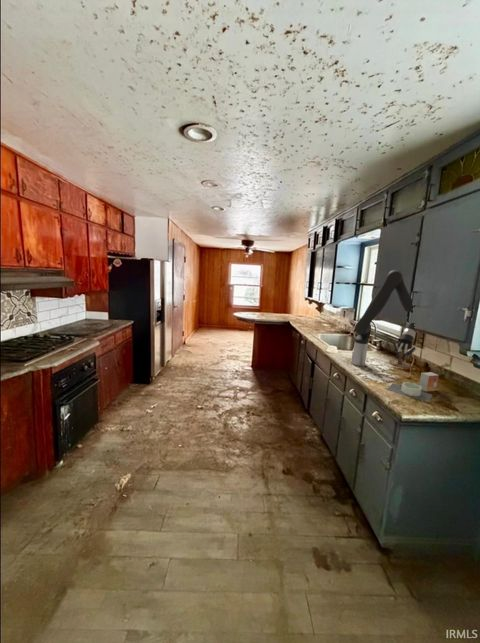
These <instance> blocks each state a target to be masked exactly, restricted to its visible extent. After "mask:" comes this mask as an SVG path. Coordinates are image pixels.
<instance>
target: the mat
mask: <svg viewBox="0 0 480 643" xmlns="http://www.w3.org/2000/svg"><path fill="white" fill-rule="evenodd" d="M401 387H402V385H400V384H395V383H391V384H390V386H388V387H387V389H386V391H389V392H393V393H396V394H399V395H403V396H405V397H409V398H413V399H417V400H420V401H422V402H427V403H429V402H430V400H431V398H432V397H433V394H432V393H429V392H426V391H422V392H421V395H420V396H418V397H414V396H409V395H406V394H404V393H403V392H402V391H401Z"/></svg>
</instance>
